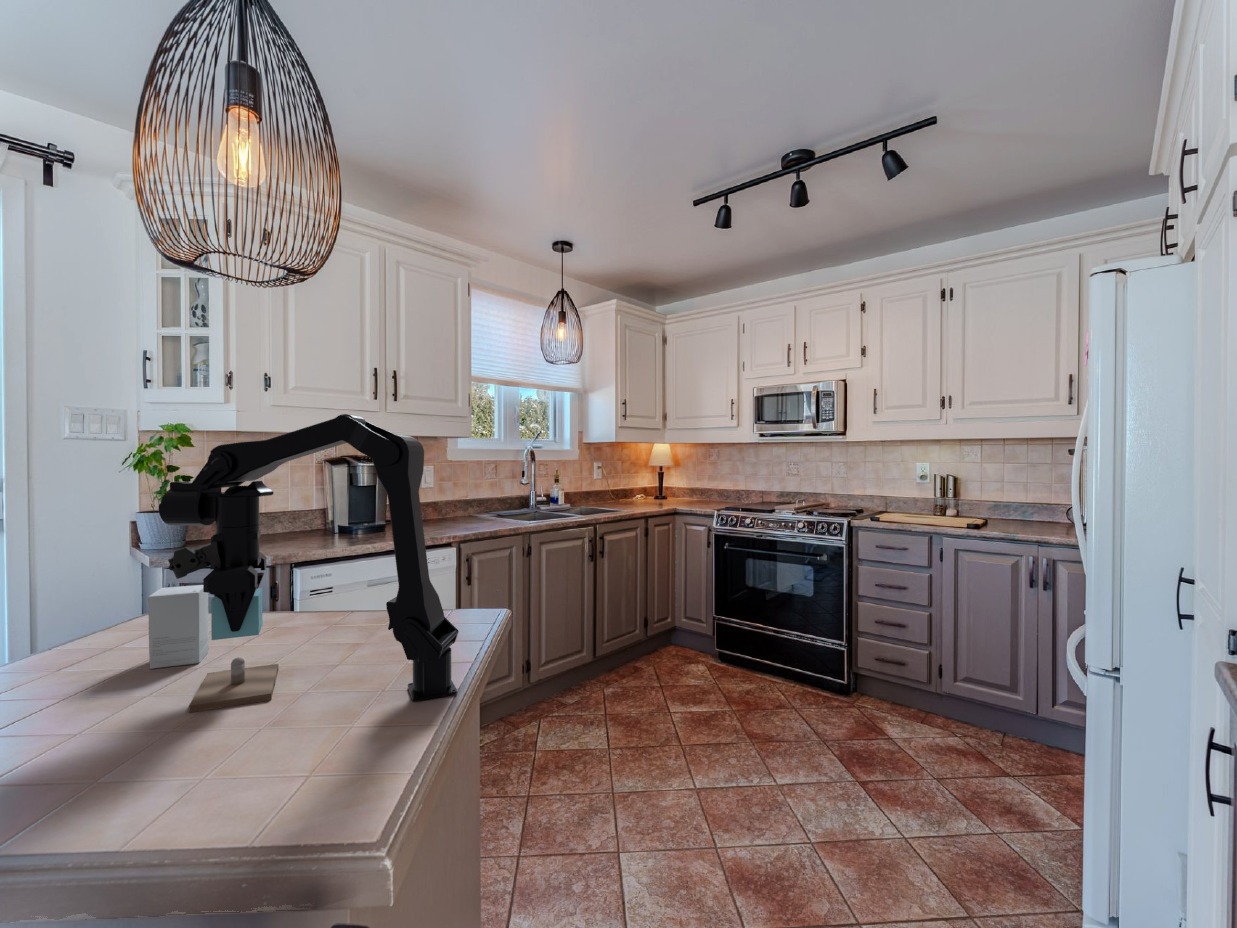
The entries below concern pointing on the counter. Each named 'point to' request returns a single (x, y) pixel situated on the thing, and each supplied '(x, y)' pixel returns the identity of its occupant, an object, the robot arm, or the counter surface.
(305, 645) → the counter surface
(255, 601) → the square socket block
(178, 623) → the supplement box
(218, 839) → the counter surface
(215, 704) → the pin plate
